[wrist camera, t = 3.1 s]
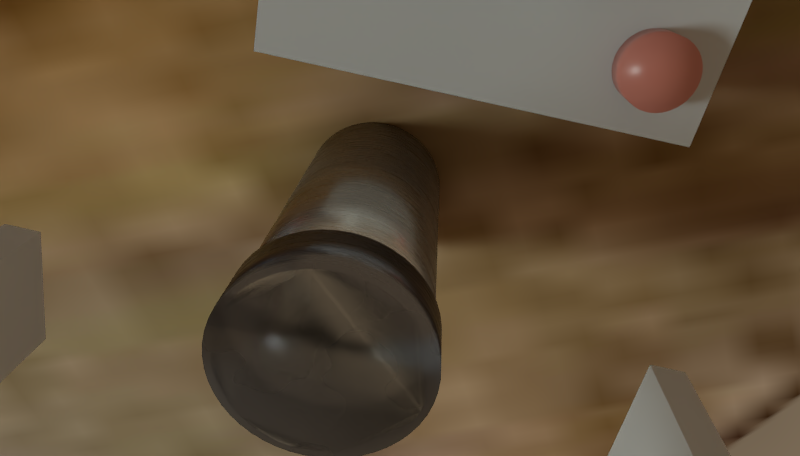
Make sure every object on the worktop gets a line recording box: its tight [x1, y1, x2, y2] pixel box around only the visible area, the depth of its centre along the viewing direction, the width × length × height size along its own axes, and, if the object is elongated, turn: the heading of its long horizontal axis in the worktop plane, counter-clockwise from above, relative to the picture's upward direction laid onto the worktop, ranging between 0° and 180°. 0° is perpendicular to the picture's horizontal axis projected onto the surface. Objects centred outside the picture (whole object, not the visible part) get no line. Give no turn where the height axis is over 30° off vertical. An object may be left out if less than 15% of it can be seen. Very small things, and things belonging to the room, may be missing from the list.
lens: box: [202, 123, 442, 456], centre depth 17 cm, size 5×5×10 cm
